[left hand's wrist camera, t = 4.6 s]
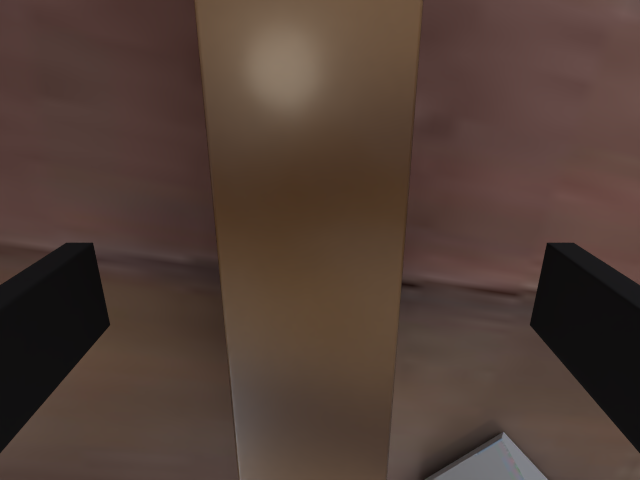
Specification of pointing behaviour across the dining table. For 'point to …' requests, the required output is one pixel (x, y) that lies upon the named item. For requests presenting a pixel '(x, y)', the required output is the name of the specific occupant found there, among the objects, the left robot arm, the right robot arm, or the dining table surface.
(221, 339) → the dining table surface
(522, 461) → the electronic device
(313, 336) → the beam
